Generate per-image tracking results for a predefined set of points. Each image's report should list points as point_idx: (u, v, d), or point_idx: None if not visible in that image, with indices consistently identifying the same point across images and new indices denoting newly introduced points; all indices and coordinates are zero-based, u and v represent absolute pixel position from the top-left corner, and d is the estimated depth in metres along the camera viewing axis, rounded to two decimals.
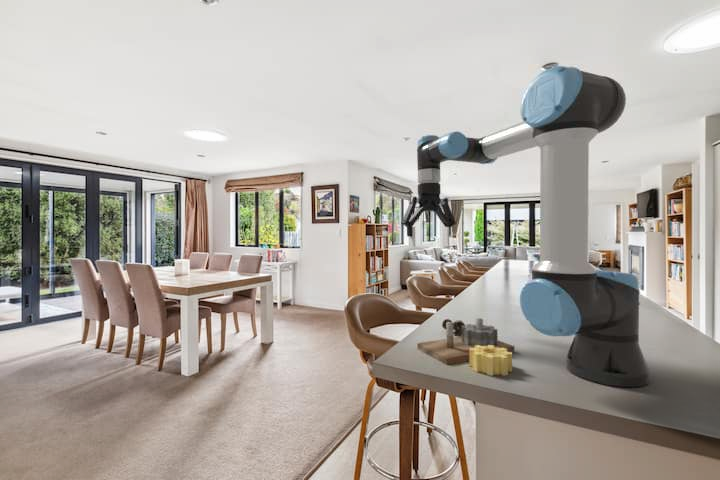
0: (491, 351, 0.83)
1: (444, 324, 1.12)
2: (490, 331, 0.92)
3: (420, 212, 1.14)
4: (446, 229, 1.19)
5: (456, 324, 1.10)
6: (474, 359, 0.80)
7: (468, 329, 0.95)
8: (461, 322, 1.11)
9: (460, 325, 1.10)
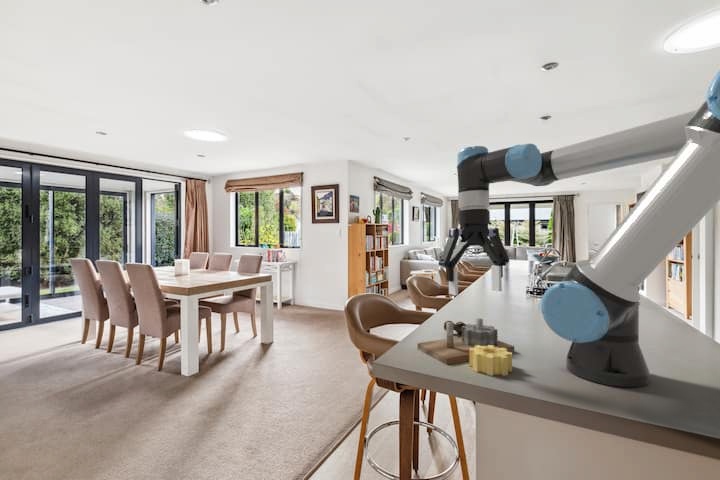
0: (491, 351, 0.83)
1: None
2: (490, 331, 0.92)
3: (464, 248, 0.85)
4: (497, 269, 0.90)
5: (458, 325, 1.08)
6: (474, 359, 0.80)
7: (468, 329, 0.95)
8: (463, 323, 1.09)
9: None
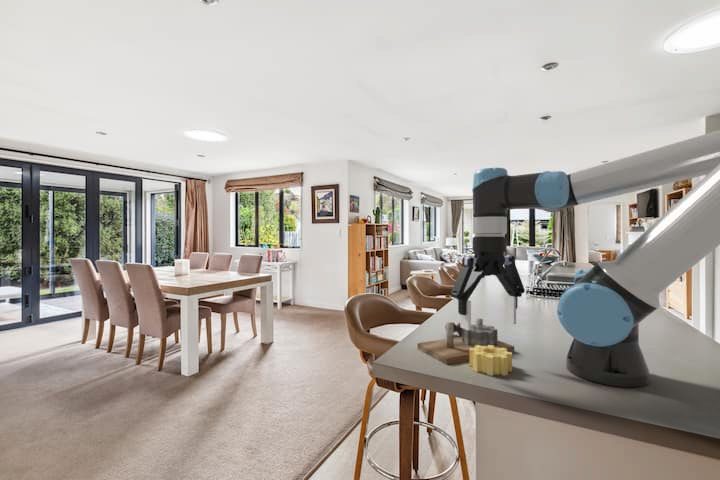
0: (491, 351, 0.83)
1: None
2: (490, 331, 0.92)
3: (478, 279, 0.79)
4: (512, 300, 0.83)
5: (460, 327, 1.07)
6: (474, 359, 0.80)
7: None
8: None
9: None
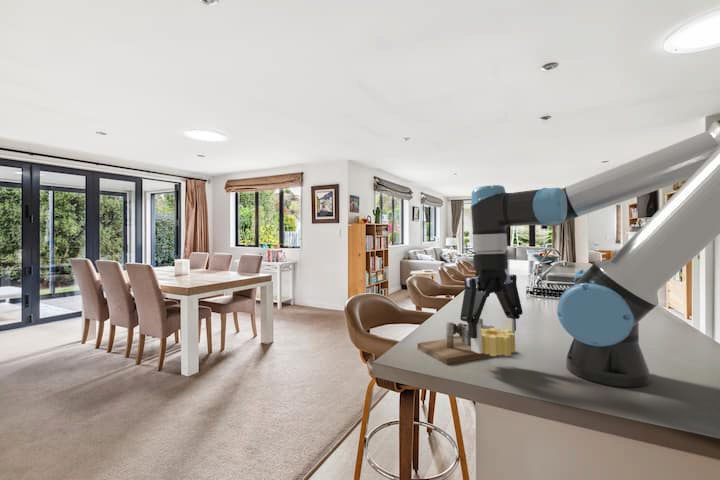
0: (494, 333, 0.82)
1: None
2: None
3: (484, 299, 0.79)
4: (510, 322, 0.82)
5: None
6: None
7: None
8: (465, 325, 1.07)
9: None
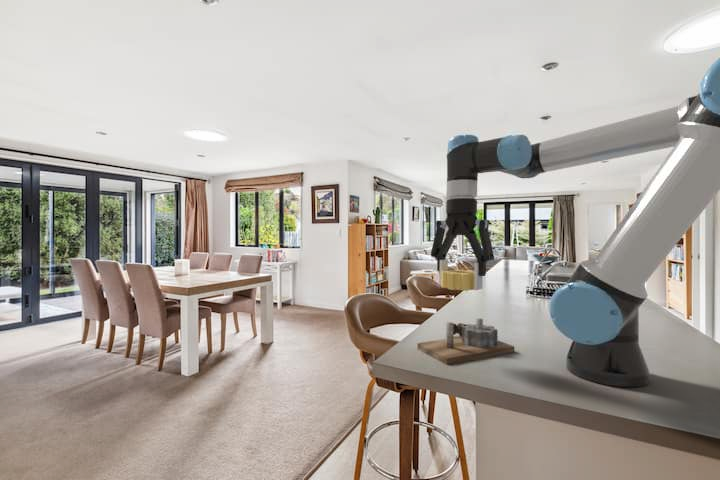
0: None
1: None
2: (490, 331, 0.92)
3: (446, 239, 0.90)
4: None
5: None
6: None
7: (468, 329, 0.95)
8: (465, 325, 1.07)
9: None
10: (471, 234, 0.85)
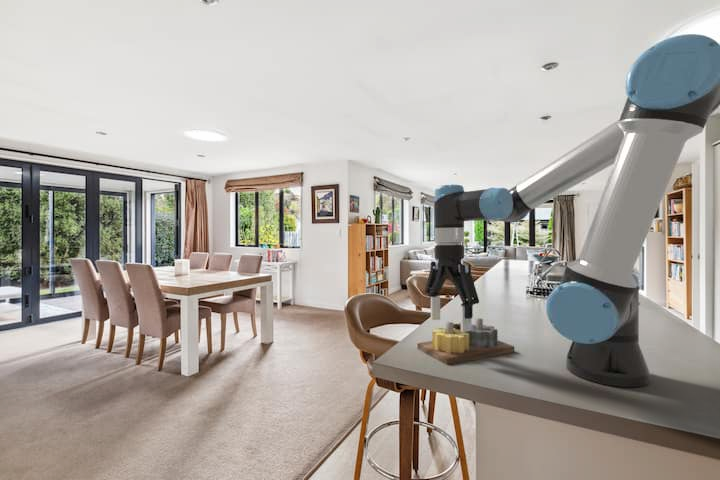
0: None
1: None
2: (490, 331, 0.92)
3: (436, 280, 0.95)
4: None
5: None
6: None
7: None
8: None
9: None
10: (456, 278, 0.88)
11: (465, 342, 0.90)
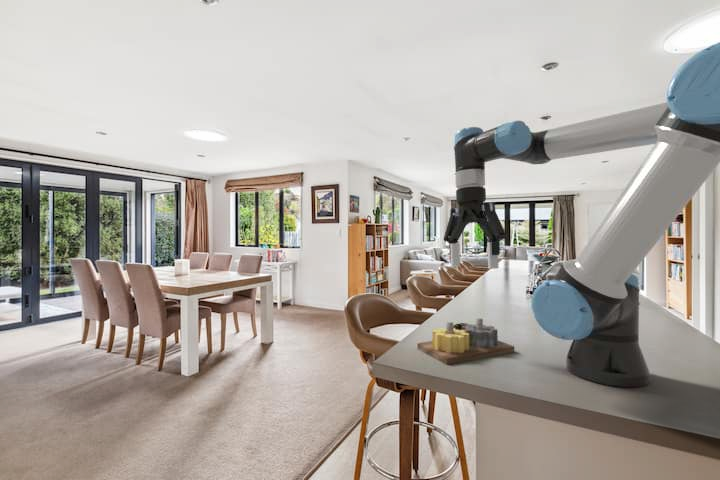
0: None
1: None
2: (490, 331, 0.92)
3: (457, 226, 0.96)
4: None
5: None
6: None
7: (468, 329, 0.95)
8: None
9: None
10: (480, 218, 0.89)
11: (465, 342, 0.90)
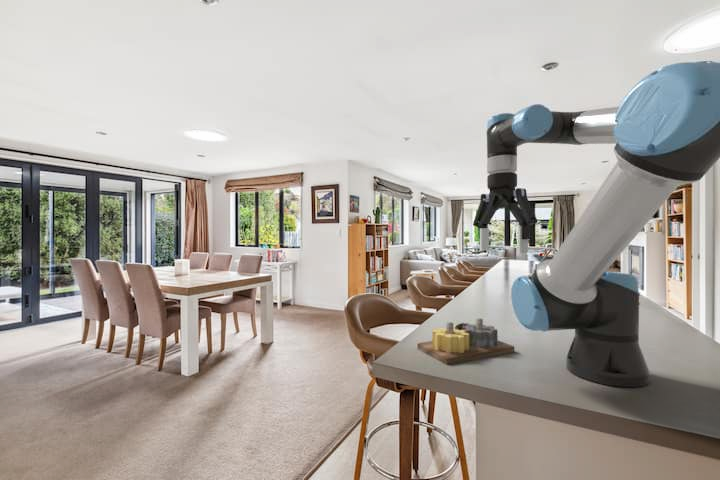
0: None
1: None
2: (490, 331, 0.92)
3: (487, 211, 0.98)
4: None
5: None
6: None
7: (468, 329, 0.95)
8: None
9: None
10: (511, 203, 0.90)
11: (465, 342, 0.90)
